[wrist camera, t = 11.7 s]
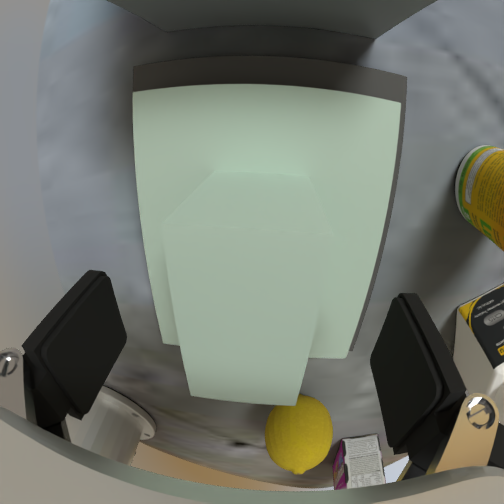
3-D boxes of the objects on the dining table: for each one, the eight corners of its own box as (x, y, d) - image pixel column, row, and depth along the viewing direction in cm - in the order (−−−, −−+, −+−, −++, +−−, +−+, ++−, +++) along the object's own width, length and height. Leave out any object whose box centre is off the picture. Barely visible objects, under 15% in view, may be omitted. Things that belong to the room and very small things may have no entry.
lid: (341, 334, 18) (358, 441, 11) (173, 321, 19) (130, 419, 12) (384, 103, 12) (488, 107, 4) (152, 93, 12) (37, 93, 5)
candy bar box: (363, 461, 32) (369, 551, 17) (331, 465, 32) (332, 557, 18) (380, 431, 27) (394, 548, 12) (341, 437, 27) (346, 558, 13)
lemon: (341, 392, 23) (349, 469, 16) (297, 415, 25) (296, 485, 18) (299, 368, 21) (300, 457, 14) (255, 395, 24) (246, 473, 17)
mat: (350, 343, 20) (352, 351, 19) (165, 329, 21) (162, 336, 20) (400, 78, 11) (406, 76, 11) (140, 68, 12) (133, 66, 12)
